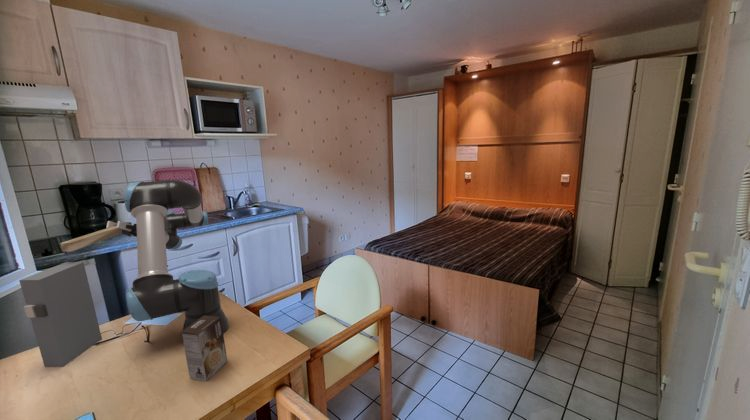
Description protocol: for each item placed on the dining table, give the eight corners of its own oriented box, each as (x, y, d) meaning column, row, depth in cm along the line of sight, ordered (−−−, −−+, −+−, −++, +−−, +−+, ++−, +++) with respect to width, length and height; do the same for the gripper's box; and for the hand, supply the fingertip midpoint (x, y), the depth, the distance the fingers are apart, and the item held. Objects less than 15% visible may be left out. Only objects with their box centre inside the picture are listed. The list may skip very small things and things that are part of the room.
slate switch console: (102, 339, 111) (83, 261, 104) (59, 369, 96) (35, 281, 90) (85, 339, 111) (66, 262, 104) (41, 369, 96) (15, 281, 90)
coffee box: (211, 358, 100) (204, 314, 97) (228, 360, 99) (221, 316, 95) (188, 378, 91) (180, 331, 88) (206, 382, 90) (198, 334, 86)
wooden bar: (132, 230, 128) (131, 222, 127) (72, 252, 102) (69, 242, 101) (124, 230, 128) (123, 222, 127) (62, 252, 102) (59, 242, 102)
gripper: (170, 244, 141) (131, 233, 119) (135, 245, 141) (89, 233, 119) (173, 228, 143) (135, 214, 121) (139, 229, 144) (94, 215, 121)
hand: (113, 224), depth 120 cm, fingers closed on wooden bar, 3 cm apart
